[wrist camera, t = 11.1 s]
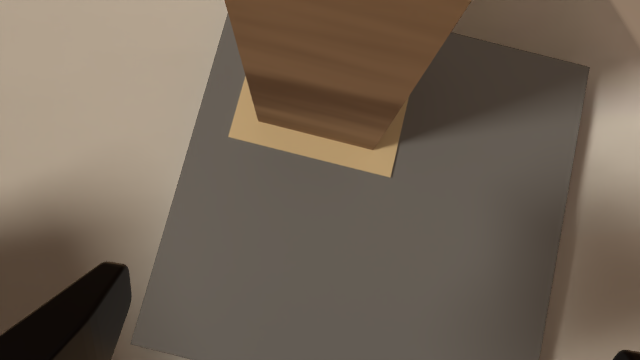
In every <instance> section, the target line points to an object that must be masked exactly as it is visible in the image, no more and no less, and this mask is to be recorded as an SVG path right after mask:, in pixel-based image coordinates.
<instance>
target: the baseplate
mask: <svg viewBox="0 0 640 360" xmlns="http://www.w3.org/2000/svg"><path fill="white" fill-rule="evenodd" d="M588 73H589V67H587V66H583V65H579V64H575V63H571V62H567V61H563V60H559V59H555V58H551V57H547V56H543V55H539V54H535V53H531V52H527V51H523V50H519V49H515V48H511V47H507V46H503V45H499V44H495V43H491V42H487V41H483V40H479V39H475V38H471V37H467V36H463V35H459V34H455V33H450V34H449V36H448V37H447V39H446V40H445V42H444V43H443V45H442V46H441V48H440V49H439V51H438V53H437V54H436V56H435V57H434V59H433V60H432V62H431V63H430V65H429V66H428V68H427V69H426V71H425V72H424V74H423V75H422V77H421V78H420V80H419V81H418V83H417V84H416V86H415V88H414V89H413V91H412V92H411V94H410V95H409V97H408V98H407V100H406V101H405V103H404V104H403V106H402V107H401V109H400V110H399V112H398V113H397V115H396V116H395V118H394V120H393V121H392V123H391V124H390V126H389V127H388V129H387V130H386V132H385V133H384V135H383V136H382V138H381V139H380V141H379V142H378V144H377V145H376V147H375V148H374V150H370V149H366V148H362V147H358V146H354V145H350V144H346V143H342V142H338V141H334V140H330V139H326V138H322V137H318V136H314V135H310V134H306V133H303V132H299V131H295V130H291V129H287V128H283V127H279V126H275V125H271V124H267V123H263V122H259V121H258V119H257V115H256V112H255V108H254V104H253V101H252V97H251V94H250V90H249V86H248V83H247V79H246V76H245V72H244V68H243V65H242V61H241V58H240V54H239V50H238V47H237V43H236V40H235V36H234V32H233V29H232V25H231V22H230V18H229V14H227V18H226V21H225V24H224V28H223V31H222V35H221V38H220V41H219V45H218V48H217V52H216V55H215V58H214V62H213V65H212V69H211V72H210V75H209V79H208V82H207V86H206V89H205V92H204V96H203V99H202V103H201V106H200V109H199V113H198V116H197V120H196V123H195V127H194V130H193V133H192V137H191V140H190V144H189V147H188V150H187V154H186V157H185V161H184V164H183V167H182V171H181V174H180V178H179V181H178V184H177V188H176V191H175V195H174V198H173V201H172V205H171V208H170V212H169V215H168V218H167V222H166V225H165V229H164V232H163V235H162V239H161V242H160V246H159V249H158V252H157V256H156V259H155V263H154V266H153V269H152V273H151V276H150V280H149V283H148V286H147V290H146V293H145V297H144V300H143V303H142V307H141V310H140V314H139V317H138V320H137V324H136V327H135V331H134V334H133V337H132V341H131V344H132V345H136V346H140V347H144V348H148V349H152V350H156V351H160V352H164V353H168V354H172V355H176V356H180V357H184V358H188V359H192V360H539V358H540V352H541V346H542V340H543V334H544V329H545V323H546V317H547V311H548V305H549V300H550V294H551V288H552V282H553V276H554V270H555V265H556V259H557V253H558V247H559V241H560V236H561V230H562V224H563V218H564V212H565V207H566V201H567V195H568V189H569V183H570V178H571V172H572V166H573V160H574V154H575V148H576V143H577V137H578V131H579V125H580V119H581V114H582V108H583V102H584V96H585V90H586V85H587V79H588Z"/></svg>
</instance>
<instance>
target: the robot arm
mask: <svg viewBox="0 0 640 360" xmlns="http://www.w3.org/2000/svg"><path fill="white" fill-rule="evenodd" d="M130 303H131V286H130V277H129V270H128V267H127V266H126V265H124V264H120V263H114V262H103V263H101V264H99V265H98V266H97V267H95V268H94V269H92V270H91V271H90V272H88V273H87V274H85V275H84V276H83V277H81V278H80V279H78V280H77V281H76V282H74V283H73V284H71V285H70V286H69V287H67V288H66V289H64V290H63V291H62V292H60V293H59V294H58V295H56V296H55V297H53V298H52V299H51V300H49V301H48V302H46V303H45V304H44V305H42V306H41V307H39V308H38V309H37V310H35V311H34V312H32V313H31V314H30V315H28V316H27V317H25V318H24V319H23V320H21V321H20V322H19V323H17V324H16V325H14V326H13V327H12V328H10V329H9V330H7V331H6V332H5V333H3V334H2V335H0V360H111V358H112V355H113V352H114V349H115V347H116V344H117V341H118V338H119V335H120V332H121V330H122V327H123V324H124V321H125V318H126V316H127V313H128V310H129V307H130ZM613 360H640V352H636V351H630V350H622V351H620V352H618V353H617V355H616V356H615V357H614V359H613Z"/></svg>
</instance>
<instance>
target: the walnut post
mask: <svg viewBox="0 0 640 360" xmlns="http://www.w3.org/2000/svg"><path fill="white" fill-rule="evenodd" d="M470 2H471V0H225V4H226V7H227V11H228V14H229V18H230V22H231V25H232V29H233V32H234V36H235V40H236V43H237V47H238V50H239V54H240V58H241V61H242V65H243V68H244V72H245V76H246V79H247V83H248V86H249V90H250V94H251V97H252V101H253V104H254V108H255V112H256V115H257V119H258V121H259V122H263V123H267V124H271V125H275V126H279V127H283V128H287V129H291V130H295V131H299V132H303V133H306V134H310V135H314V136H318V137H322V138H326V139H330V140H334V141H338V142H342V143H346V144H350V145H354V146H358V147H362V148H366V149H370V150H374V148H375V147H376V145H377V144H378V142H379V141H380V139H381V138H382V136H383V135H384V133H385V132H386V130H387V129H388V127H389V126H390V124H391V123H392V121H393V120H394V118H395V116H396V115H397V113H398V112H399V110H400V109H401V107H402V106H403V104H404V103H405V101H406V100H407V98H408V97H409V95H410V94H411V92H412V91H413V89H414V88H415V86H416V84H417V83H418V81H419V80H420V78H421V77H422V75H423V74H424V72H425V71H426V69H427V68H428V66H429V65H430V63H431V62H432V60H433V59H434V57H435V56H436V54H437V53H438V51H439V49H440V48H441V46H442V45H443V43H444V42H445V40H446V39H447V37H448V36H449V34H450V33H451V31H452V30H453V28H454V27H455V25H456V24H457V22H458V21H459V19H460V18H461V16H462V14H463V13H464V11H465V10H466V8H467V7H468V5H469V4H470Z"/></svg>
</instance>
